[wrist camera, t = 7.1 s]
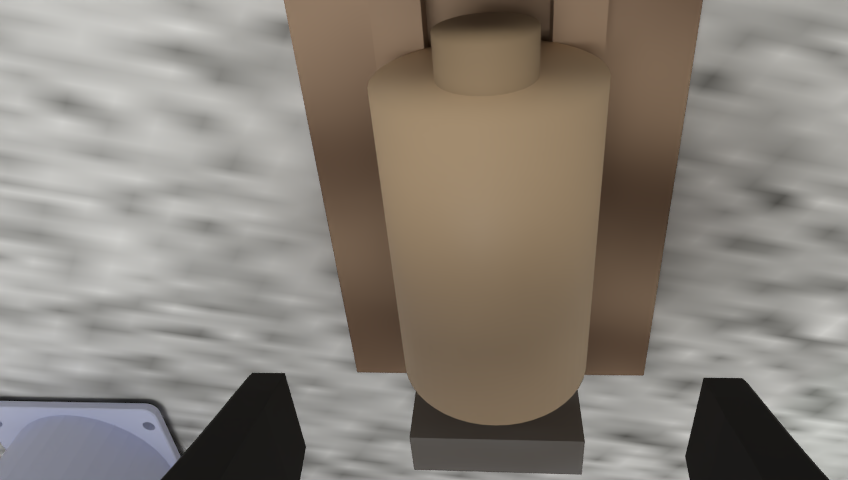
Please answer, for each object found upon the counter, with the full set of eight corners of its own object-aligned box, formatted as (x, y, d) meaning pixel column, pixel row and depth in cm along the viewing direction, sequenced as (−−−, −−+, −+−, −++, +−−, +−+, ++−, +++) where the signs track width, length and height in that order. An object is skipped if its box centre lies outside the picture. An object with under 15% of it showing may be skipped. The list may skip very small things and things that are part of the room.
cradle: (638, 354, 23) (669, 477, 19) (362, 352, 24) (334, 467, 20) (713, -157, 14) (802, -138, 10) (273, -119, 15) (192, -88, 11)
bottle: (574, 319, 20) (596, 453, 16) (416, 320, 21) (399, 449, 17) (595, -12, 15) (638, 63, 10) (379, 2, 15) (338, 78, 11)
